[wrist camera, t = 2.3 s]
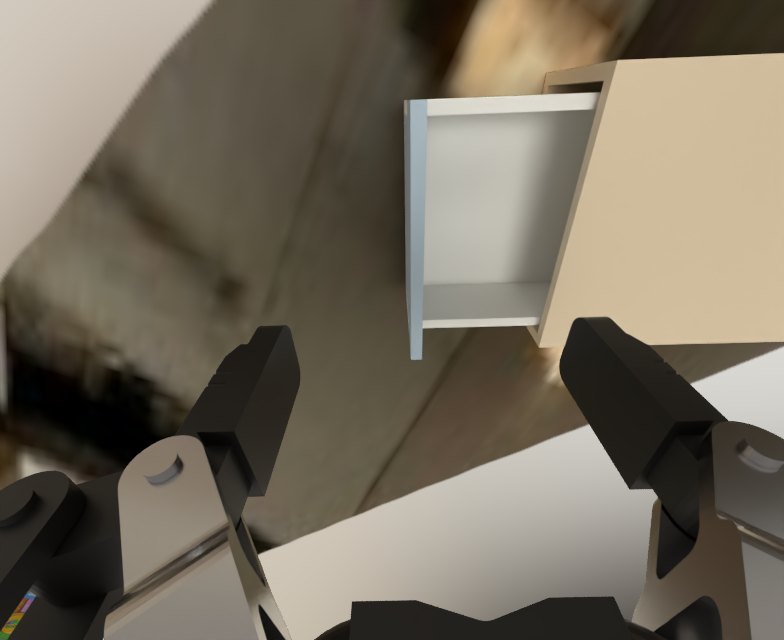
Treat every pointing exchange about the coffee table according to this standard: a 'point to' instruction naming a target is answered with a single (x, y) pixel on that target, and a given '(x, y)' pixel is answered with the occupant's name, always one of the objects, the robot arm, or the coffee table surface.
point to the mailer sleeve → (676, 202)
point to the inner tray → (488, 205)
